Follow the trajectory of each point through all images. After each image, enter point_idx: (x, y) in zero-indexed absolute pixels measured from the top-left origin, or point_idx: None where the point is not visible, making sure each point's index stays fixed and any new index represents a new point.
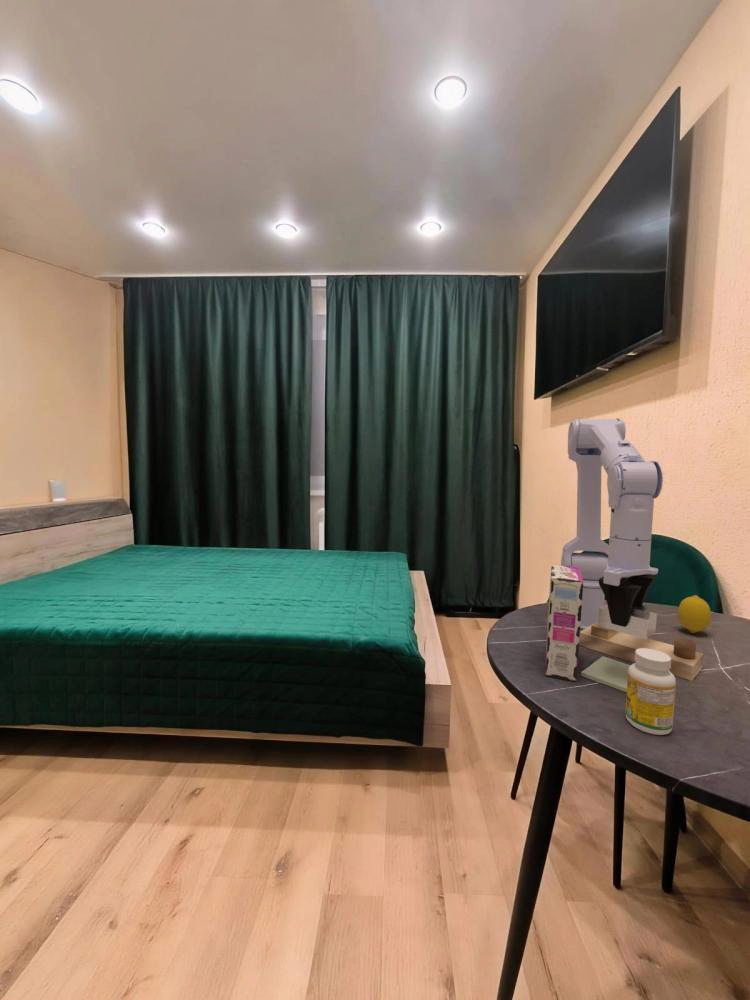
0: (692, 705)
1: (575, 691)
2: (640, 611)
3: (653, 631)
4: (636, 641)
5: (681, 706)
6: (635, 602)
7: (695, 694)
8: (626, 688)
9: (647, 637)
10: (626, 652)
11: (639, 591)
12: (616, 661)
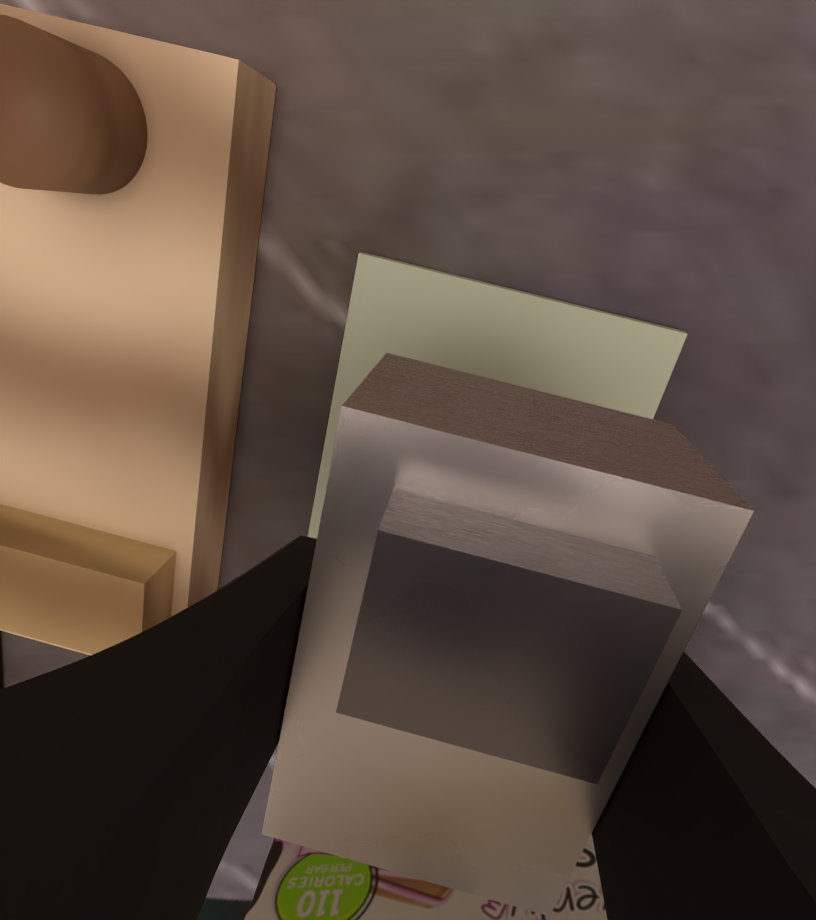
0: (624, 79)
1: (761, 602)
2: (654, 635)
3: (462, 377)
4: (74, 410)
5: (671, 139)
6: (266, 684)
7: (458, 64)
8: (652, 413)
9: (650, 421)
10: (216, 442)
11: (175, 808)
12: (327, 474)
